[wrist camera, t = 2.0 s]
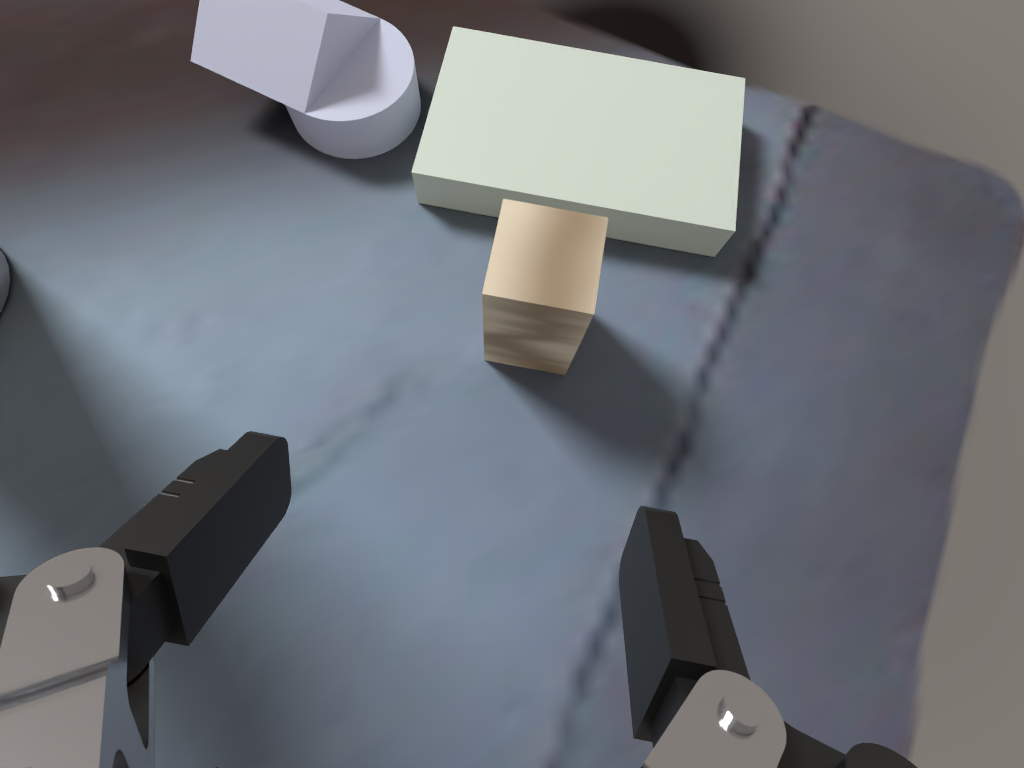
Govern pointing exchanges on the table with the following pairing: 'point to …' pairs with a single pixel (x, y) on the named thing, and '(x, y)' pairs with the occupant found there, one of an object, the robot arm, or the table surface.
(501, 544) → the table surface
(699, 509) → the table surface
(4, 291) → the robot arm
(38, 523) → the table surface
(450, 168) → the sage board
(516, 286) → the birch block
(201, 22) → the wedge on round base
